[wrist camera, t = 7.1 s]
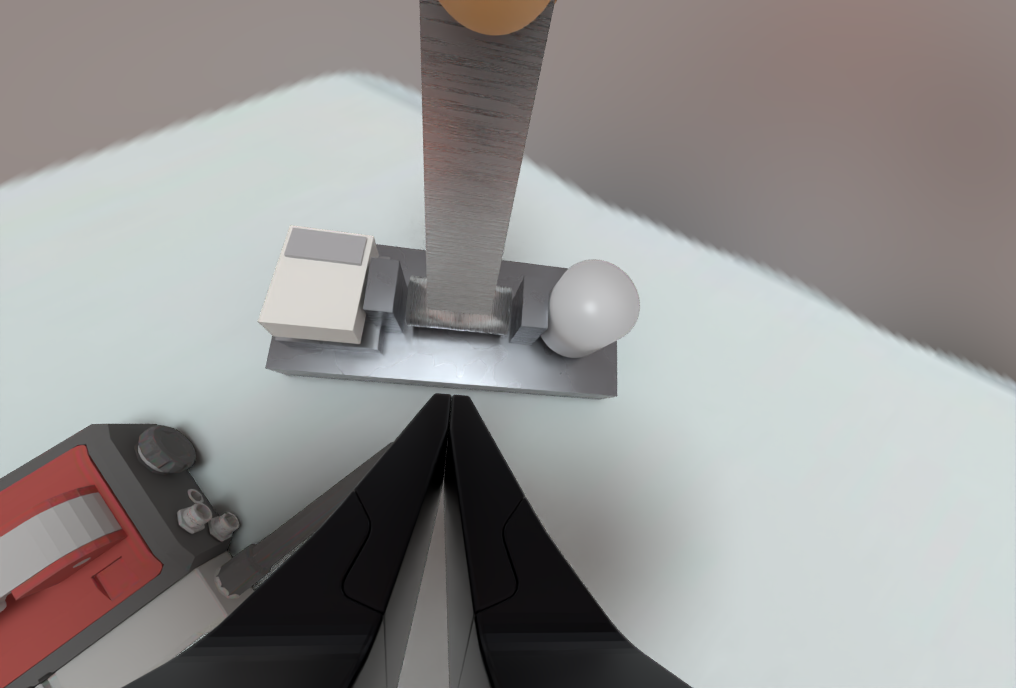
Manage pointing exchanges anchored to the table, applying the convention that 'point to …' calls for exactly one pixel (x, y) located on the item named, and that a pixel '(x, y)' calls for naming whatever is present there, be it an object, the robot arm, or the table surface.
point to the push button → (590, 308)
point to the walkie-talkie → (122, 557)
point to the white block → (319, 286)
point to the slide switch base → (452, 341)
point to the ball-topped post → (473, 152)
